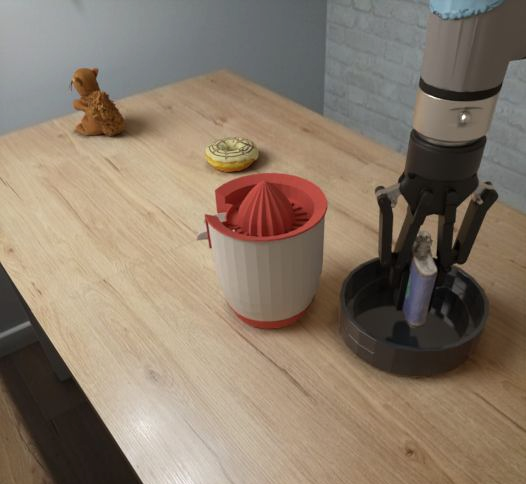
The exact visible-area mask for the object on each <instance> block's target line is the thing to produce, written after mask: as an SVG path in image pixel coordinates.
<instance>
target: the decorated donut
mask: <svg viewBox="0 0 526 484" xmlns="http://www.w3.org/2000/svg"><path fill="white" fill-rule="evenodd" d="M204 152H205V160H206V162H208V164H209V165H210V166H211V167H212V168H213V169H215V170H217V171H221V172H224V173H231V172H240V171H242V170H246V169H247V168H248V167H250V166H251V165H252V164H253V163H254V162H255V161H256V160H258V159H259V155H260V154H259V148H258V146H257V144H256V142H254V141H252V140H251V139H249V138H247V137H244V136H235V137H231V136H229V137H224V138H221V139H217V140H215V141H212V142H211V143H210V144H209V145H207V146H206V149H205V151H204Z"/></svg>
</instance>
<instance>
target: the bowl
mask: <svg viewBox="0 0 526 484" xmlns="http://www.w3.org/2000/svg"><path fill="white" fill-rule="evenodd" d="M436 260H437V258H436ZM451 267H452V271H451V272H449V273H447V275H446V278H445V282H444V284H443V286H442V287H436V290H435V293H434V297H433V301H432V305H431V309H430V310H428V311H427V316H426V321H425V324H424V325H423V326H422V328H412V327H410V326H409V325H408V324H407V322H406V321H405V318H404V316H403V313H402V311H396V307H395V303H394V299H393V295H394V290H395V288H391V284H390V280H389V276H390V270H391V267H382V266H381V263H380V258H379V256H377V257H374V258H372V259H371V258H370V259H369V260H367V261H365V262H362V263H360V264H359V265H358V266H356V267H355V268H354V269H351V270H350V272H349V273H348V274H347V276H346V277H345V278H344V280H343V281H342V283H341V286H340V291H339V296H338V297H339V299H338V310H337V325H338V333H339V334H340V336H341V339H342V340H343V343H344V344H345V346H346V347H347V348H348V349H349V350H350V351H351V352H352V353H353V355H355V356H356V357H357V358H358V359H360V360H362V361H363V362H365V363H366V364H368V365H370V366H371V367H373V368H376V369H378V370H381V371H382V372H386V373H389V374H392V375H397V376H403V377H408V378H409V377H410V378H417V377H418V378H419V377H420V378H421V377H422V378H423V377H434V376H439V375H443V374H446V373H450V372H453V371H454V370H456V369H458V368H459V367H461V366H464V365H465V364H466V362H468V361H469V360H470V358H472V357H473V355H475V353H476V351H477V348H478V347H479V344H480V341H481V339H482V336H483V333H484V330H485V329H486V326H487V322H488V321H489V317H490V301H489V299H488V296H487V294H486V292H485V290H484V288H483V287H482V286H481V284H480V283H479V282H478V281H477V280H476V279H475V277H473V276H472V275H471V274H470V273H468V272H467V271H465V270H463V268H461V267H459V266H457V265H456V264H453V265H451ZM413 326H414V325H413ZM414 327H416V326H414Z"/></svg>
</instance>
